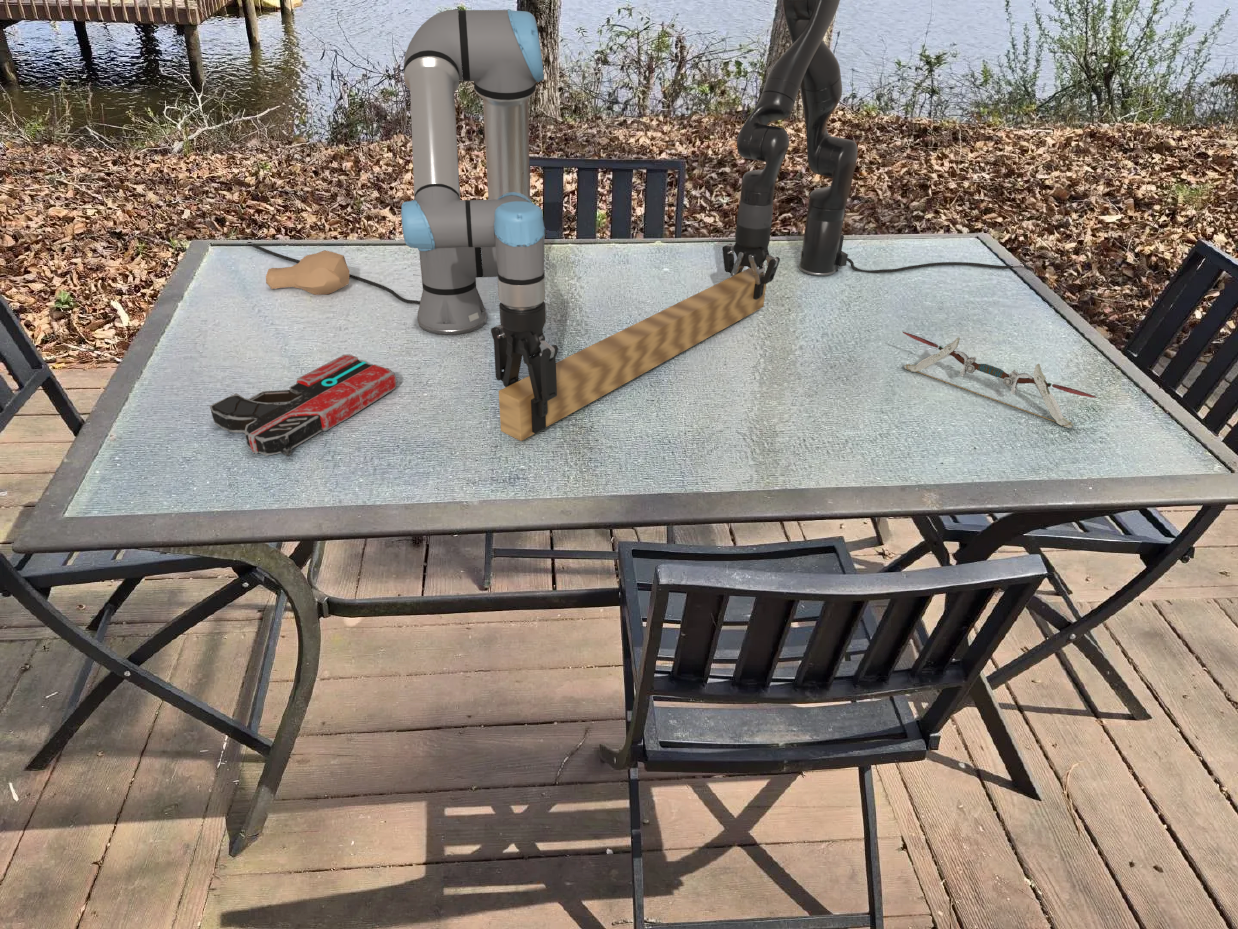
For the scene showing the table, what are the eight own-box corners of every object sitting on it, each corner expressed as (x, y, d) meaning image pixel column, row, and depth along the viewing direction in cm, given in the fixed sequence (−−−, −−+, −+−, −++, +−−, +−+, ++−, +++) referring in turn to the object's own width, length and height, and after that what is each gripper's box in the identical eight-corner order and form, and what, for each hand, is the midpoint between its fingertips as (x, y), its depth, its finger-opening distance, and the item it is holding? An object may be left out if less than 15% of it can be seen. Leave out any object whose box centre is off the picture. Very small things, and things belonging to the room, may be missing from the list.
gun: (194, 409, 153) (271, 444, 146) (327, 342, 175) (400, 368, 168) (201, 431, 156) (277, 466, 148) (331, 362, 178) (403, 389, 170)
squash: (349, 299, 206) (336, 265, 200) (267, 306, 208) (252, 273, 202) (359, 274, 214) (347, 241, 208) (280, 281, 216) (266, 249, 209)
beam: (520, 441, 151) (519, 400, 147) (500, 431, 154) (498, 390, 150) (763, 306, 202) (767, 273, 198) (745, 300, 205) (749, 267, 201)
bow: (1085, 430, 164) (1103, 383, 158) (1082, 434, 163) (1099, 386, 157) (897, 362, 185) (907, 319, 179) (893, 365, 184) (902, 321, 178)
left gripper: (579, 309, 140) (579, 433, 153) (500, 280, 149) (506, 399, 162) (546, 324, 135) (549, 451, 148) (467, 293, 144) (476, 414, 157)
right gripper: (792, 224, 188) (782, 298, 198) (736, 210, 196) (729, 282, 205) (773, 233, 184) (764, 308, 193) (717, 218, 191) (710, 291, 201)
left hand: (527, 424), depth 155 cm, fingers closed on beam, 5 cm apart
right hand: (746, 294), depth 199 cm, fingers closed on beam, 5 cm apart
